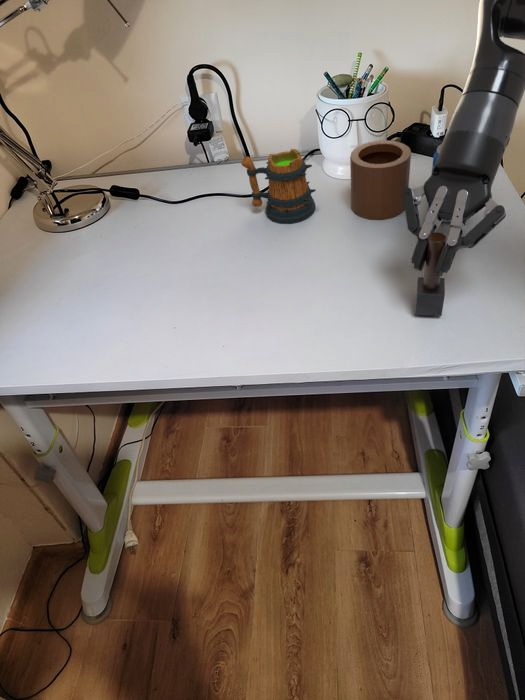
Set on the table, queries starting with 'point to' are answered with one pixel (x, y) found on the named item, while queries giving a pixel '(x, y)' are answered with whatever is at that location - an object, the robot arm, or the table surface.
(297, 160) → the mug
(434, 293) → the cylinder on square base
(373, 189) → the brown pencil cup
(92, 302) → the table surface
